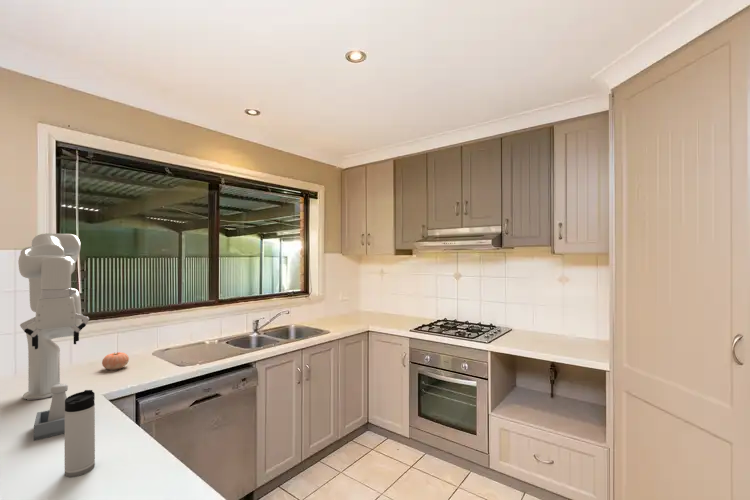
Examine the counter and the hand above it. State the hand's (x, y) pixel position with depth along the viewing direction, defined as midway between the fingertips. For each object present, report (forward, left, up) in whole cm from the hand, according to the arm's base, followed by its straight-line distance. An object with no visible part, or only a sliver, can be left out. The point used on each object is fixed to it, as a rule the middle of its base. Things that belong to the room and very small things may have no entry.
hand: (56, 345), depth 122 cm
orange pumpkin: (-60, +20, -27) cm, 69 cm away
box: (+2, +1, -27) cm, 27 cm away
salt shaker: (+2, +1, -26) cm, 26 cm away
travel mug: (+36, +6, -27) cm, 45 cm away
